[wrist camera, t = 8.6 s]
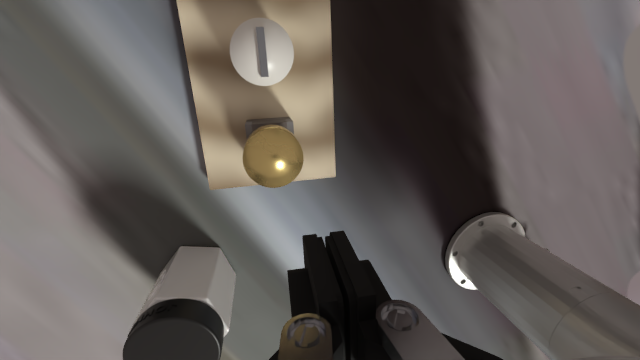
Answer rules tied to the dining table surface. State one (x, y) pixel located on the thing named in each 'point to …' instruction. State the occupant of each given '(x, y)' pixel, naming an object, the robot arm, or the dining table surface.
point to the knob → (272, 156)
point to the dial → (261, 51)
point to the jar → (185, 309)
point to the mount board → (260, 101)
